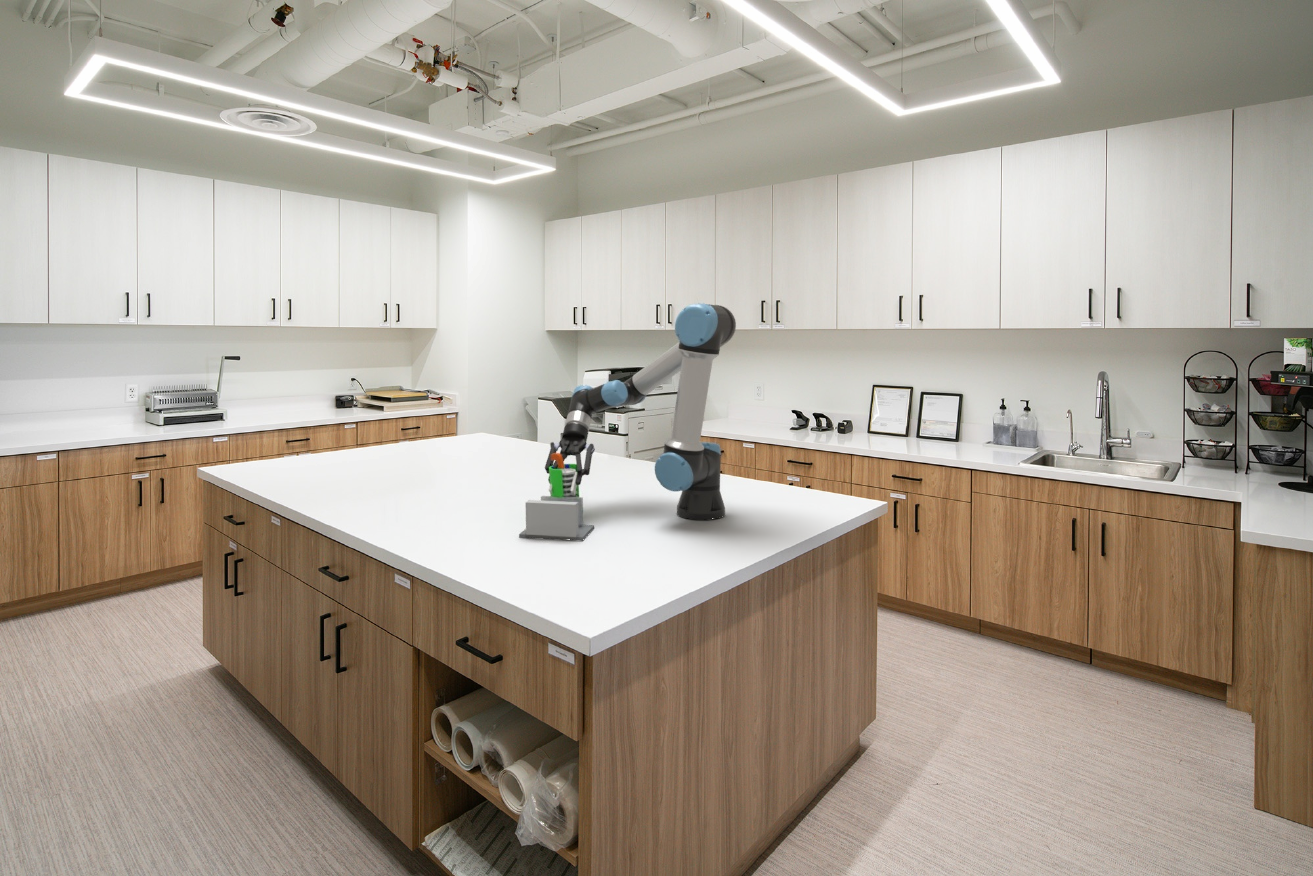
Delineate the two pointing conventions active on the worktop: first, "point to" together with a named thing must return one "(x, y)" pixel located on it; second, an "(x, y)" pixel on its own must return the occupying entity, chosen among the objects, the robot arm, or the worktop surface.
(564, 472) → the green-shelled ribbed roller
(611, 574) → the worktop surface
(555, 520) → the frame
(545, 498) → the gauge plunger
